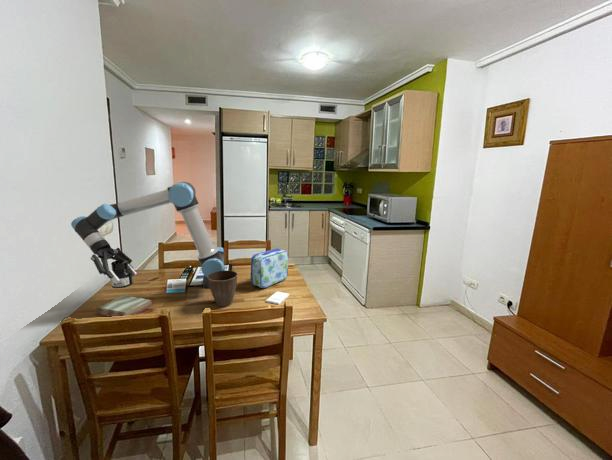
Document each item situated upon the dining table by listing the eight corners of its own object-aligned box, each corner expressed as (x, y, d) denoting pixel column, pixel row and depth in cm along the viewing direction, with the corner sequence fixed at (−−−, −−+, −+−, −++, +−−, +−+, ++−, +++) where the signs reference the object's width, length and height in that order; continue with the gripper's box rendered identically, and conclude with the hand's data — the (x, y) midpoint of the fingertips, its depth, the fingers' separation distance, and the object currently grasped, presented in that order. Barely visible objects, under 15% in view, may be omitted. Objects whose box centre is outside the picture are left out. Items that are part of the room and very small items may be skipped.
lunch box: (278, 274, 193) (278, 244, 189) (290, 278, 187) (290, 247, 182) (249, 286, 173) (247, 253, 168) (261, 291, 166) (260, 257, 162)
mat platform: (151, 305, 147) (151, 299, 147) (126, 320, 133) (125, 313, 133) (124, 300, 152) (123, 294, 152) (97, 314, 138) (96, 307, 138)
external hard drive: (289, 296, 162) (278, 305, 150) (276, 293, 165) (265, 302, 154) (289, 293, 161) (278, 302, 150) (276, 291, 164) (265, 299, 153)
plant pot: (207, 311, 142) (205, 281, 139) (210, 298, 156) (209, 271, 153) (238, 309, 145) (237, 279, 142) (238, 296, 159) (237, 269, 156)
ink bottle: (106, 289, 136) (103, 265, 133) (117, 282, 144) (114, 259, 142) (128, 288, 137) (125, 265, 134) (137, 281, 145) (134, 259, 143)
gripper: (114, 243, 151) (141, 275, 150) (71, 254, 131) (102, 291, 130) (120, 234, 149) (148, 267, 147) (78, 244, 128) (109, 282, 127)
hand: (126, 278), depth 139 cm, fingers closed on ink bottle, 9 cm apart
